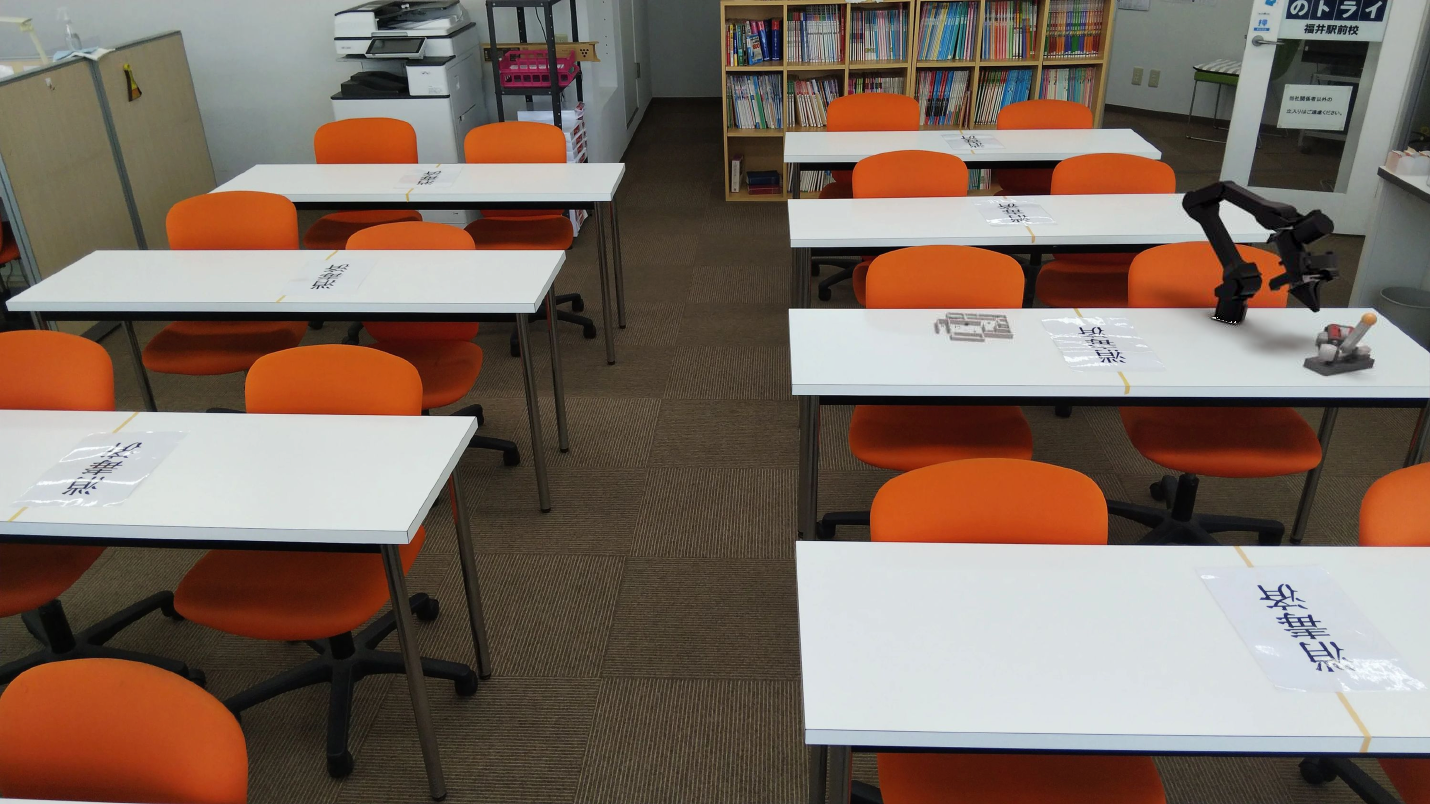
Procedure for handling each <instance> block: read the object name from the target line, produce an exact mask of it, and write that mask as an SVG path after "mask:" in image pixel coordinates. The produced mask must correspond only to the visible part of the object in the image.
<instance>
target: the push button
mask: <svg viewBox="0 0 1430 804" xmlns="http://www.w3.org/2000/svg"><path fill="white" fill-rule="evenodd" d="M1336 350H1337V347H1336V346H1334V345H1331V344H1322V345H1321V348H1320V347H1319V351H1318V355H1317V356H1318V358H1319V359H1321V360H1325V361H1333V359H1334V356H1335V353H1336Z"/></svg>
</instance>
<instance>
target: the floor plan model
mask: <svg viewBox="0 0 1430 804" xmlns="http://www.w3.org/2000/svg"><path fill="white" fill-rule="evenodd" d="M982 321H984V322H983V323H982ZM985 321H988V322H987V323H986V322H985ZM990 321H993V322H995V321H996V322H995V323H994V329H995V330H994V329H993V328H991V329H990V328H989V329H988V328H987V326H986V325H990V324H991V322H990ZM935 323H936V329H937V334H938V335H940V330H941V328H944V327H945V325H947V329H948V334H950V338H951V341H956V342H957V341H959V342H976V343H985V342H986V338H991V339H992V338H993V339H1009V340H1011V339H1012V340H1013V339H1014V338H1013V337H1014V333H1013V330H1012V327H1011V325H1010V321H1009V319H1008V316H1007V314H994V313H992V314H991V313H978V312H977V313H968V312H967V313H966V312H951V311H950V312H949V311H947V312H946V318H942V317H941V318H940V317H938V318H937V317H936V322H935ZM981 324H982V325H981ZM951 325H954V328H955V329H957V327H958V328H961V326H978V327H981V329H983V333H982V332H977V331H976V330H975V329H973V332H971V331H970V332H969V331H967V329H964V331H955V330H954V331H951V330H952V327H951ZM960 325H961V326H960ZM994 331H995V332H994Z"/></svg>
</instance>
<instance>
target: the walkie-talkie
mask: <svg viewBox="0 0 1430 804" xmlns="http://www.w3.org/2000/svg"><path fill="white" fill-rule="evenodd" d="M1354 328H1355V327H1354V326H1351V325H1345V324H1339V323H1330V324H1327V326H1325V327H1324V329H1323V330H1324V331H1322V332H1318V334H1317V337H1316V342H1315V345H1316V346H1319V349H1320V348H1321V345H1322V344H1331V345H1334V346H1336V347H1337V349H1338V348H1339V347H1340V346H1341V344H1342V343H1343V342H1344V341H1345V339H1346V338H1347V337H1348V336H1349V334H1350V333H1351V332H1352V331H1353V329H1354Z"/></svg>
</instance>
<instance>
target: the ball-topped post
mask: <svg viewBox="0 0 1430 804" xmlns="http://www.w3.org/2000/svg"><path fill="white" fill-rule="evenodd" d="M1360 318H1361V319H1360V320H1359V322H1358V323H1357V324H1356V326H1355V327H1354V329H1353V331H1352V332H1351V333H1350V334H1349V336H1348V337H1347V338H1346V339H1345V341H1344V342H1343V343H1342V344H1341V346H1340V347H1339V348H1338V349H1339V350H1340V353H1339V356H1338V358H1342V357H1348V356H1351V355H1352V350H1353V348H1354V347H1355V346H1356V345H1357V344H1358V342H1359V341H1360V342H1361V340H1362V338H1363V337H1364V336H1365V335H1366V334H1367V332H1369V330H1370V329H1371V328H1372V326H1374V325H1376V324H1377V321H1378V317H1377V315H1376V314H1375V313H1372V312H1367V313H1364V314H1363V315H1362V316H1361V317H1360Z"/></svg>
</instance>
